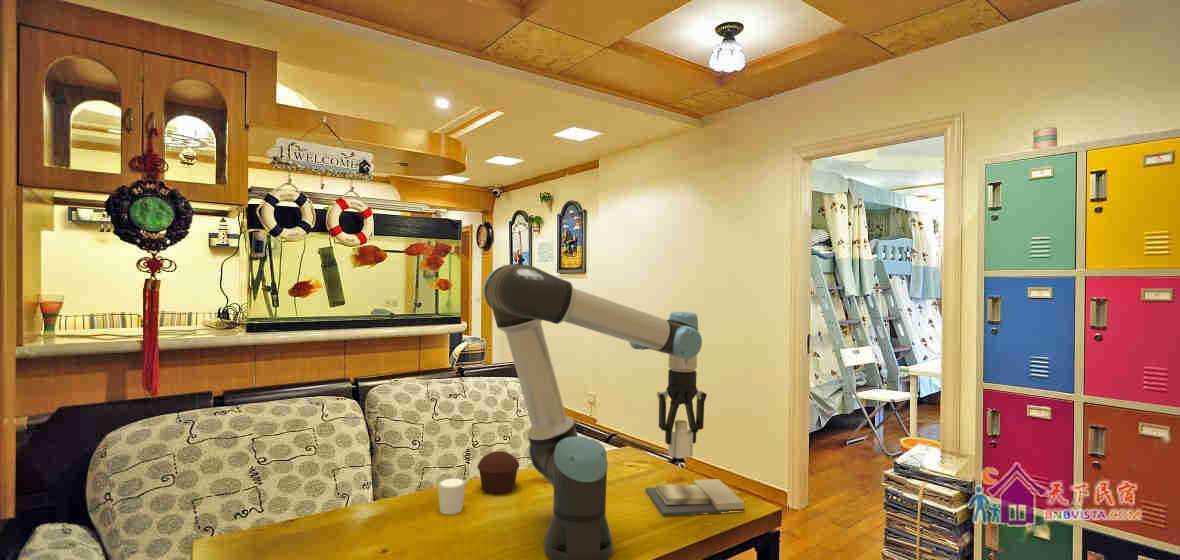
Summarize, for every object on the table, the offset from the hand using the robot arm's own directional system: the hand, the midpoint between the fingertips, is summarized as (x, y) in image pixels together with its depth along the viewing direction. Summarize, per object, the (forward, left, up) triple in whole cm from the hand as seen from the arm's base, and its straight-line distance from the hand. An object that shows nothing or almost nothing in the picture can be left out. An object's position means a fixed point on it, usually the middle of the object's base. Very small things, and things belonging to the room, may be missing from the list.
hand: (680, 455), depth 146 cm
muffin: (-48, +15, -13) cm, 52 cm away
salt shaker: (0, 0, 0) cm, 0 cm away
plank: (+1, 0, -12) cm, 12 cm away
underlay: (+4, 0, -13) cm, 13 cm away
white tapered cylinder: (-60, +3, -13) cm, 62 cm away
